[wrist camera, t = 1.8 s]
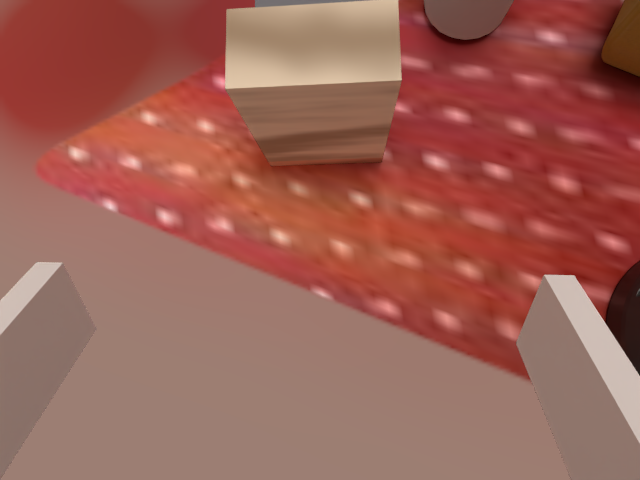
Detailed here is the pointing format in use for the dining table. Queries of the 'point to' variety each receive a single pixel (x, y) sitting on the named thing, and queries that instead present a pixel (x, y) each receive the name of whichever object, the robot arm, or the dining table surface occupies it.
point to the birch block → (316, 79)
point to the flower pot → (625, 39)
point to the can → (466, 16)
